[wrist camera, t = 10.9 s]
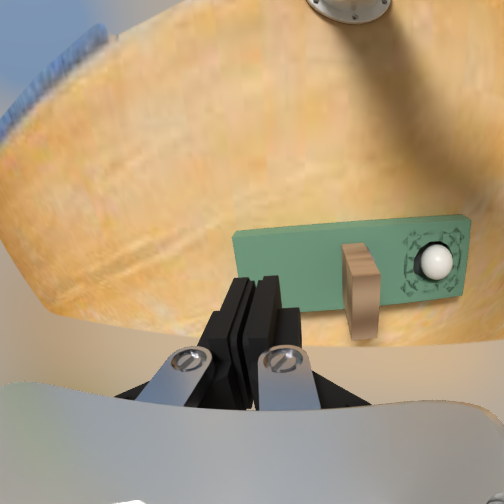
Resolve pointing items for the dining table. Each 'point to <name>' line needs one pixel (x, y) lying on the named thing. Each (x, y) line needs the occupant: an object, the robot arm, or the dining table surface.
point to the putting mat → (330, 258)
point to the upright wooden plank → (360, 290)
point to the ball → (436, 262)
